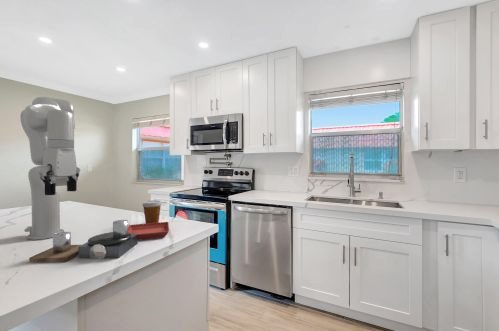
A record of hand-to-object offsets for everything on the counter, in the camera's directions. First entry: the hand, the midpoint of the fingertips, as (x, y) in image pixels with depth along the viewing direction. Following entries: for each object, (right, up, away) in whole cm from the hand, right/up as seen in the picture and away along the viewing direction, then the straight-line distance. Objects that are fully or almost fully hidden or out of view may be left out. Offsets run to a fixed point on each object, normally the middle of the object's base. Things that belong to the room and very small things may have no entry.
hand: (61, 193), depth 84 cm
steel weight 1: (0, -21, 0) cm, 21 cm away
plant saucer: (+21, -23, +24) cm, 39 cm away
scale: (+15, -22, +4) cm, 27 cm away
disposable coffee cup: (+15, -22, +41) cm, 49 cm away
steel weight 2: (+19, -17, +4) cm, 26 cm away
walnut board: (0, -22, 0) cm, 22 cm away
